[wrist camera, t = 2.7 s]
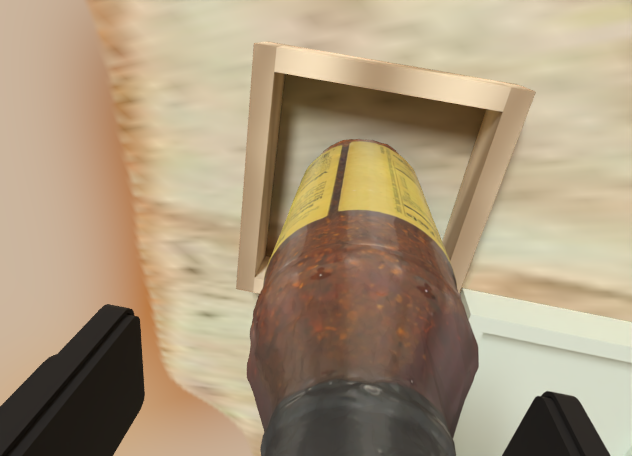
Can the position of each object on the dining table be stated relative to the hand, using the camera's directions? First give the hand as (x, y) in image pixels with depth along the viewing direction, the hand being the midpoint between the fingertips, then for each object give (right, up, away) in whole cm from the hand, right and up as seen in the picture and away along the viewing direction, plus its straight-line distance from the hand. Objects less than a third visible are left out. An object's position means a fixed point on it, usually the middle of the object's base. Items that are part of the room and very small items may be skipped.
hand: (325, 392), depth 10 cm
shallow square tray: (+14, -7, +17) cm, 24 cm away
